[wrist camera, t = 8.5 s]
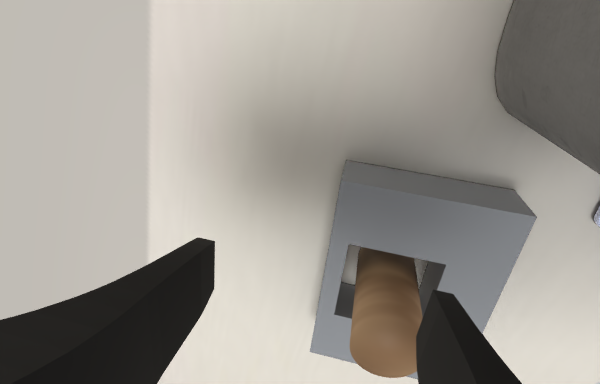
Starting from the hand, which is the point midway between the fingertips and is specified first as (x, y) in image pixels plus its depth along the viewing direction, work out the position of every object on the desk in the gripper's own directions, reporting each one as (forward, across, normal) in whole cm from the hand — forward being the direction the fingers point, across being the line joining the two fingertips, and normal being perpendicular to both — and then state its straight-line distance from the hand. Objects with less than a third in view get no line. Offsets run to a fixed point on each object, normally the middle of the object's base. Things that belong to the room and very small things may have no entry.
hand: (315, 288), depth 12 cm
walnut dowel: (+10, -4, +5) cm, 12 cm away
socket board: (+10, -4, +5) cm, 12 cm away
